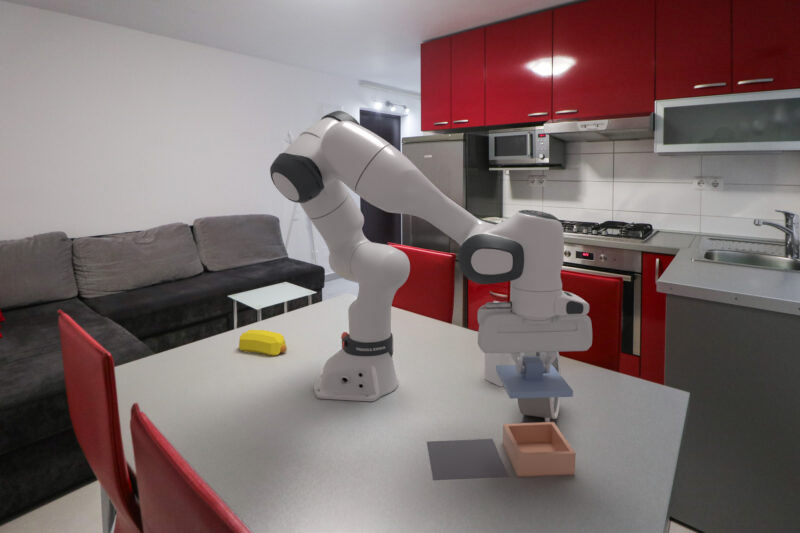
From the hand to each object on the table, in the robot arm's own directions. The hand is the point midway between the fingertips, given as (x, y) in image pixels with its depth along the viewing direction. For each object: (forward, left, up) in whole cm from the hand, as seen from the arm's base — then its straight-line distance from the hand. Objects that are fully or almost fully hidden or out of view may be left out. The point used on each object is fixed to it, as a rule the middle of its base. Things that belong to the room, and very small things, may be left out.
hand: (532, 372), depth 83 cm
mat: (-12, +2, -19) cm, 23 cm away
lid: (0, 0, -2) cm, 2 cm away
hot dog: (-67, +63, -20) cm, 94 cm away
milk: (+4, +36, -19) cm, 41 cm away
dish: (+2, +1, -19) cm, 19 cm away
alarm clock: (+8, +17, -19) cm, 27 cm away
